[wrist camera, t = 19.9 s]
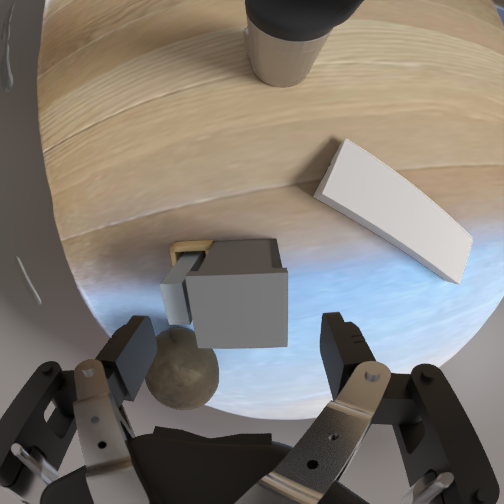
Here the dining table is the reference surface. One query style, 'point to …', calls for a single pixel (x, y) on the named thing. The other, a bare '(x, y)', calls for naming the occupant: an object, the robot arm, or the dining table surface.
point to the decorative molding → (394, 210)
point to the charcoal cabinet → (237, 293)
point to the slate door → (179, 288)
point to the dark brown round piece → (182, 370)
